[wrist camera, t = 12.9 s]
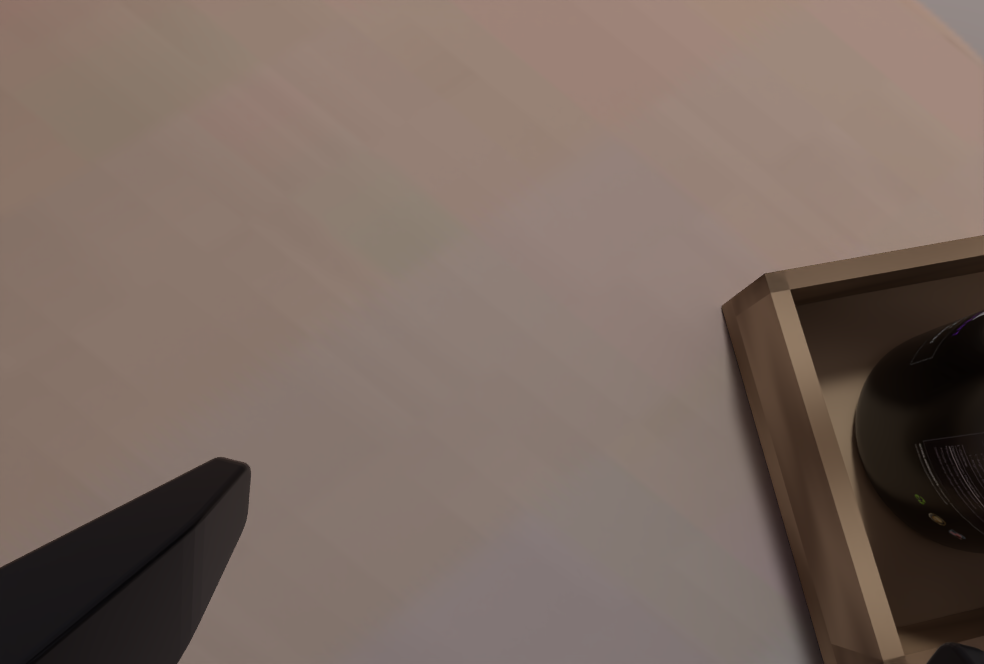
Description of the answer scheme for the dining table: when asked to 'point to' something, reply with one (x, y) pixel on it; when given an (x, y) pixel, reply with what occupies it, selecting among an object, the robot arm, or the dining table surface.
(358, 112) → the dining table surface
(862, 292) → the wooden desk organizer
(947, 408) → the supplement bottle
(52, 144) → the dining table surface
